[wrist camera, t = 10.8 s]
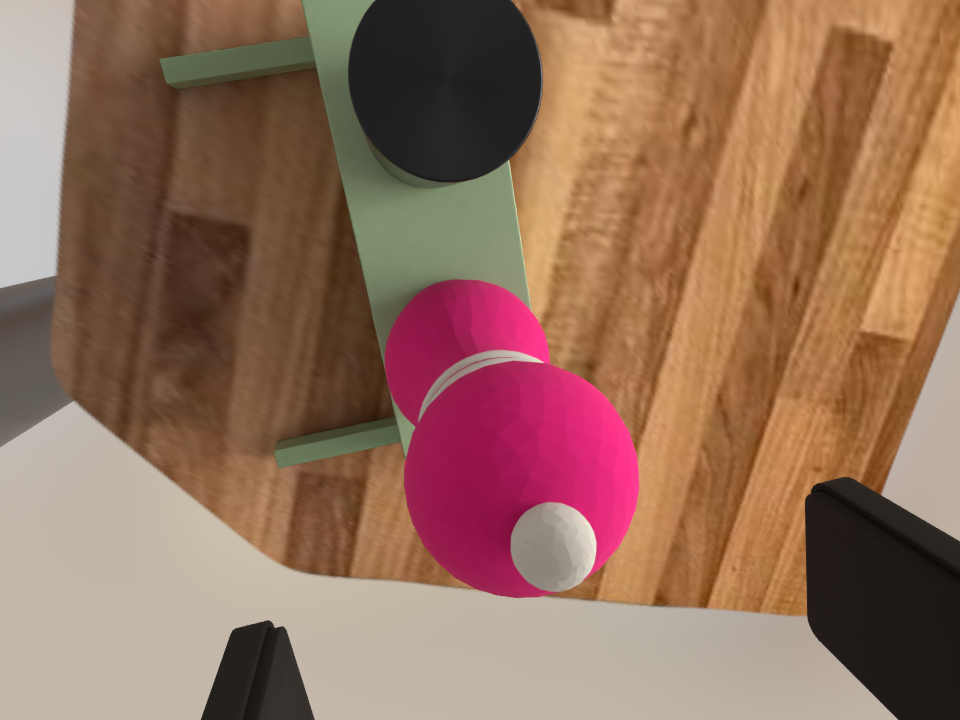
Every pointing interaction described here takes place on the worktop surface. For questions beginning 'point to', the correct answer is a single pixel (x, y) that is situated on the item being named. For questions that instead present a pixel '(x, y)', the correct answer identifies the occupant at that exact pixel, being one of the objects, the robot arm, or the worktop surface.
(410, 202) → the riser
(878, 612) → the robot arm
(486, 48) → the spice tin
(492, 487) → the pepper mill
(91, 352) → the worktop surface
